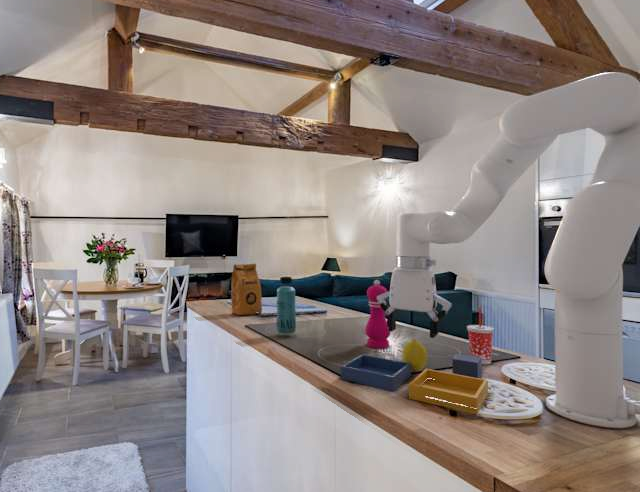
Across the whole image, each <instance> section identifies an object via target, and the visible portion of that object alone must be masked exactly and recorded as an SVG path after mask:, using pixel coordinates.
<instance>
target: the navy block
mask: <svg viewBox="0 0 640 492" xmlns="http://www.w3.org/2000/svg"><path fill="white" fill-rule="evenodd" d="M482 365H483V364H482V360H481V357H475V356H470V355H468V354H462V353H461V354H460V353H457V354H456V355H455V356H454V357H453V358H452V374H458V375H463V376H468V377H474V378H479V379H483V371H482V368H483V367H482Z"/></svg>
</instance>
